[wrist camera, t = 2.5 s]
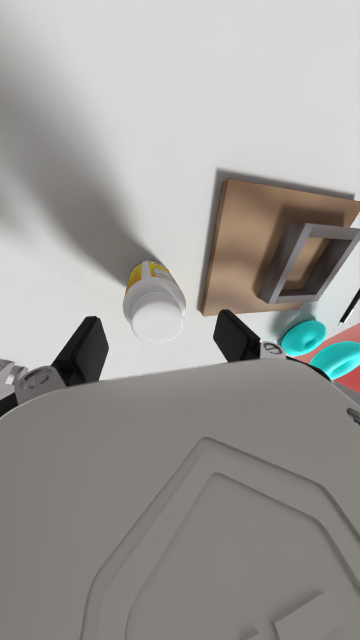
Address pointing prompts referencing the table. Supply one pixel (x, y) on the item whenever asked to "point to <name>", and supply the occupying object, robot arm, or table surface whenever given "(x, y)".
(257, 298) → the board
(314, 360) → the donuts
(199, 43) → the table surface
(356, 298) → the pen
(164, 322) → the supplement bottle
